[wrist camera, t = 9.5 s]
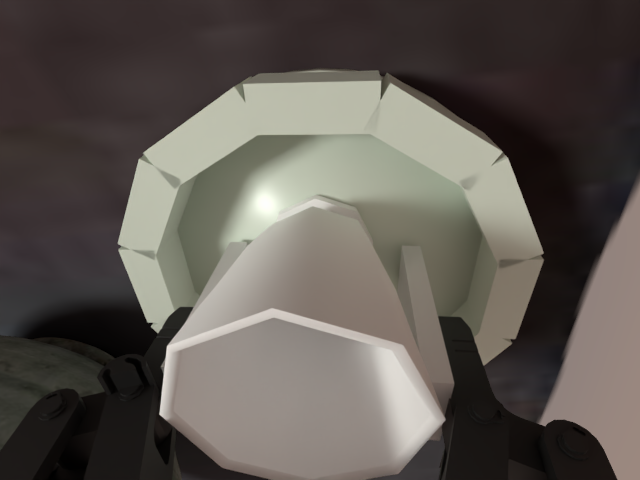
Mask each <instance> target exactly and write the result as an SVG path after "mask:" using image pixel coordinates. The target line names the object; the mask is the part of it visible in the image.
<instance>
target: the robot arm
mask: <svg viewBox="0 0 640 480" xmlns="http://www.w3.org/2000/svg"><path fill="white" fill-rule="evenodd" d="M247 246H248V245H247V242H230V243H229V245H228V247H227V248H226V250H225V252H224V254H223V256H222V257H221V259H220V261H219V263H218V265H217V266H216V268H215V270H214V272H213V274H212V275H211V277H210V279H209V281H208V283H207V284H206V286H205V288H204V290H203V292H202V293H201V295H200V297H199V299H198V301H197V302H196V304H195V306H194V307H179V308H178V309H177V310H176V311H174V312H173V313H172V314H171V315H170V316H169V317H168V318H167V320H166V322H165V323H164V325H163V326H162V329H161V330H160V331H159V333H158V335H157V337H156V338H155V339H154V341H153V343H152V344H151V346H150V347H149V349H148V351H147V352H146V354H145V355H144V357H143V356H141V355H138V354H126V355H123V356H120V357H117V358H115V359H114V360H112V361H110V362H109V363H108V364H107V365H106V366H105V367H104V368H102V369H101V371H100V373H99V375H98V376H97V378H98V380H99V382H100V384H101V385H102V387H103V389H104V391H105V392H101V393H97V394H92V395H88V396H84V397H80V395H79V394H78V393H77V392H76V391H75V390H74V389H69V388H65V389H59V390H56V391H54V392H51V393H49V394H47V395H46V396H44V397H43V398H41V399H40V400H39V401H37V402H36V404H35V405H34V406H33V407H32V408H31V409H30V410H29V412H28V413H27V414H26V416H25V417H24V419H23V420H22V421H21V423H20V424H19V426H18V427H17V428H16V430H15V431H14V432H13V434H12V435H11V437H10V438H9V439H8V441H7V442H6V444H5V445H4V446H3V448H2V449H1V450H0V480H172V476H173V465H174V454H175V443H176V428H175V427H173V426H172V425H171V424H170V423H169V422H167V421H166V420H165V419H164V418H163V417H162V416H160V415H159V413H160V404H161V395H162V386H163V377H164V368H165V359H166V350H167V345H168V344H169V343H170V342H171V340H172V339H173V338H174V337H175V335H176V334H177V333H178V332H179V330H180V329H181V328H182V327H183V325H184V324H185V323H186V321H187V320H188V319H189V318H190V316H191V315H192V314H193V313H194V311H195V310H196V309H197V308H198V307H199V305H200V304H201V303H202V302H203V301H204V300H205V298H206V297H207V296H208V295H209V294H210V292H211V291H212V290H213V289H214V288H215V286H216V285H217V284H218V283H219V281H220V280H221V279H222V278H223V276H224V275H225V274H226V273H227V271H228V270H229V269H230V267H231V266H232V265H233V264H234V262H235V261H236V260H237V258H238V257H239V256H240V255H241V253H242V252H243V251H244V249H245V248H246V247H247ZM397 294H398V297H399V300H400V302H401V305H402V308H403V310H404V313H405V316H406V318H407V321H408V324H409V326H410V329H411V332H412V334H413V337H414V340H415V342H416V345H417V347H418V350H419V352H420V355H421V357H422V359H423V362H424V364H425V367H426V369H427V372H428V374H429V377H430V379H431V382H432V385H433V387H434V390H435V392H436V395H437V398H438V400H439V403H440V406H441V408H442V411H443V413H444V416H445V419H446V420H445V421H444V422H443V424H442V425H441V426H440V427H439V428H438V429H437V430H436V432H435V433H434V434H433V435H432V436H431V437H430V438H429V439H428V440H439V441H440V438H441V434H442V432H443V438H444V443H445V449H444V452H443V456H442V460H441V463H440V467H439V468H441V469H440V475H439V480H617V478H616V476H615V473H614V471H613V469H612V467H611V465H610V463H609V460H608V458H607V456H606V454H605V451H604V449H603V448H602V446H601V445H600V443H599V442H598V440H597V439H596V438H595V437H594V436H593V435H592V434H591V433H590V432H589V431H588V430H586V429H585V428H583V427H581V426H580V425H578V424H576V423H573V422H570V421H566V420H553V421H552V422H550V423H548V424H547V425H546V427H545V426H542V425H539V424H537V423H534V422H531V421H528V420H525V419H522V418H520V417H518V416H516V415H514V414H512V413H511V412H509V411H507V410H506V409H505V408H504V407H503V405H502V404H501V403H500V402H499V401H498V400H497V399H496V398H495V396H494V394H493V392H492V390H491V387H490V384H489V381H488V378H487V375H486V372H485V369H484V366H483V363H482V360H481V357H480V354H479V353H478V348H477V345H476V343H475V340H474V337H473V334H472V331H471V328H470V327H469V326H468V325H467V324H466V322H465V321H464V320H463V319H462V318H461V317H447V316H438V315H437V311H436V307H435V303H434V299H433V295H432V291H431V287H430V283H429V279H428V275H427V271H426V267H425V262H424V258H423V254H422V250H421V246H402V249H401V259H400V269H399V278H398V288H397Z"/></svg>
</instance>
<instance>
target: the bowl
mask: <svg viewBox="0 0 640 480" xmlns="http://www.w3.org/2000/svg"><path fill="white" fill-rule="evenodd" d="M114 359H115V358H114V357H113V356H111V355H109V354H107V353H106V352H104V351H102V350H100V349H98V348H96V347H93V346H90V345H88V344H85V343H82V342H78V341H74V340H70V339H64V338H55V337H48V338H36V339H31V340H30V339H26V338H20V337H11V336H1V335H0V450H1V449H2V448H3V446H4V445H5V444H6V442H7V441H8V439H9V438H10V437H11V435H12V434H13V432H14V431H15V430H16V428H17V427H18V426H19V424H20V423H21V421H22V420H23V419H24V417H25V416H26V414H27V413H28V412H29V410H30V409H31V408H32V407H33V406H34V405H35V404H36V402H37V401H39V400H40V399H41V398H43V397H44V396H46V395H47V394H49V393H51V392H54V391H56V390H59V389H65V388H69V389H74V390H75V391H76V392H77V393H78V394H79V395H80V397H84V396H88V395H92V394H97V393H101V392H105V391H104V389H103V387H102V385H101V384H100V382H99V380H98V378H97V376H98V375H99V373H100V371H101V369H102V368H104V367H105V366H106V365H107V364H108V363H109V362H110V361H112V360H114ZM172 480H182V477H181V472H180V468H179V464H178V460H177V457H176V453H175V454H174V465H173V476H172Z"/></svg>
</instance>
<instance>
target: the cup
mask: <svg viewBox="0 0 640 480" xmlns="http://www.w3.org/2000/svg"><path fill="white" fill-rule="evenodd" d="M159 415H160V416H162V417H163V418H164V419H165V420H166V421H167V422H169V423H170V424H171V425H172V426H173V427H175V428H176V429H177V430H178V431H179V432H180V433H182V434H183V435H184V436H185V437H186V438H187V439H189V440H190V441H191V442H192V443H193V444H195V445H196V446H197V447H198V448H199V449H200V450H202V451H203V452H204V453H205V454H206V455H208V456H209V457H210V458H211V459H212V460H213V461H215V462H216V463H217V464H218V465H219V466H221V467H222V468H224V469H229V470H233V471H237V472H241V473H245V474H250V475H254V476H258V477H262V478H267V479H271V480H365V479H370V478H376V477H382V476H388V475H394V474H398V473H399V472H400V471H401V470H402V469H403V468H404V467H405V466H406V464H407V463H408V462H409V461H410V460H411V459H412V458H413V457H414V455H415V454H416V453H417V452H418V451H419V450H420V449H421V447H422V446H423V445H424V444H425V443H426V442H427V441H428V439H429V438H430V437H431V436H432V435H433V434H434V433H435V432H436V430H437V429H438V428H439V427H440V426H441V425H442V424H443V422H444V421H445V420H446V419H445V416H444V413H443V411H442V408H441V406H440V403H439V400H438V398H437V395H436V392H435V390H434V387H433V385H432V382H431V379H430V377H429V374H428V372H427V369H426V367H425V364H424V362H423V359H422V357H421V355H420V352H419V350H418V347H417V345H416V342H415V340H414V337H413V334H412V332H411V329H410V326H409V324H408V321H407V318H406V316H405V313H404V310H403V308H402V305H401V302H400V300H399V297H398V294H397V292H396V289H395V287H394V285H393V283H392V282H391V280H390V278H389V276H388V274H387V272H386V270H385V268H384V266H383V265H382V263H381V261H380V259H379V257H378V255H377V253H376V251H375V249H374V248H373V239H372V237H371V235H370V233H369V231H368V229H367V227H366V225H365V224H364V222H363V220H362V218H361V216H360V214H359V212H358V210H357V208H356V207H354V206H350V205H347V204H344V203H341V202H338V201H335V200H331V199H328V198H325V197H322V196H319V195H314V196H312V197H310V198H307V199H305V200H303V201H301V202H299V203H296V204H294V205H292V206H290V207H288V208H285V209H283V210H281V211H280V212H279V215H278V218H277V222H276V223H273V224H272V225H271V226H269V227H268V228H267V229H266V230H265V231H264V232H263V233H261V234H260V235H259V236H258V237H257V238H256V239H255V240H253V241H252V242H251V243H250V244H249V245H248V246H247V247H246V248H245V249H244V251H243V252H242V253H241V255H240V256H239V257H238V258H237V260H236V261H235V262H234V264H233V265H232V266H231V267H230V269H229V270H228V271H227V273H226V274H225V275H224V276H223V278H222V279H221V280H220V281H219V283H218V284H217V285H216V286H215V288H214V289H213V290H212V291H211V292H210V294H209V295H208V296H207V297H206V298H205V300H204V301H203V302H202V303H201V304H200V305H199V307H198V308H197V309H196V310H195V311H194V313H193V314H192V315H191V316H190V318H189V319H188V320H187V321H186V323H185V324H184V325H183V327H182V328H181V329H180V330H179V332H178V333H177V334H176V335H175V337H174V338H173V339H172V340H171V342H170V343H169V344H168V345H167V350H166V359H165V368H164V377H163V386H162V395H161V404H160V413H159Z"/></svg>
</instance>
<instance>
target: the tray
mask: <svg viewBox="0 0 640 480" xmlns="http://www.w3.org/2000/svg"><path fill="white" fill-rule="evenodd" d="M143 154H144V156H142V157H141V158H139V161H138V165H137V169H136V173H135V177H134V181H133V185H132V189H131V193H130V197H129V201H128V205H127V209H126V213H125V217H124V221H123V225H122V229H121V232H120V236H119V240H118V244H119V245H121V247H120V248H119V249H118V250H119V253H120V255H121V258H122V260H123V263H124V265H125V268H126V270H127V273H128V275H129V278H130V280H131V283H132V285H133V288H134V290H135V293H136V295H137V298H138V300H139V303H140V305H141V308H142V310H143V313H144V315H145V318H146V320H147V322H148V323H153V324H152V325H151V328H152V329H154V330H155V331H156V332H157V333H159V331H160V330H161V329H162V326H163V325H164V323H165V322H166V320H167V318H168V317H169V316H170V315H171V314H172V313H173V312H174V311H176V310H177V309H178V308H179V307H194V306H195V304H196V302H197V301H198V299H199V297H200V295H201V293H202V292H203V290H204V288H205V286H206V284H207V283H208V281H209V279H210V277H211V275H212V274H213V272H214V270H215V268H216V266H217V265H218V263H219V261H220V259H221V257H222V256H223V254H224V252H225V250H226V248H227V247H228V245H229V243H230V242H247V245H249V244H250V243H251V242H252V241H253V240H255V239H256V238H257V237H258V236H259V235H260V234H261V233H263V232H264V231H265V230H266V229H267V228H268V227H269V226H271V225H272V224H273V223H276V222H277V218H278V215H279V212H280V211H281V210H283V209H285V208H288V207H290V206H292V205H294V204H296V203H299V202H301V201H303V200H305V199H307V198H310V197H312V196H314V195H319V196H322V197H325V198H328V199H331V200H335V201H338V202H341V203H344V204H347V205H350V206H354V207H356V208H357V210H358V212H359V214H360V216H361V218H362V220H363V222H364V224H365V225H366V227H367V229H368V231H369V233H370V235H371V237H372V239H373V248H374V249H375V251H376V253H377V255H378V257H379V259H380V261H381V263H382V265H383V266H384V268H385V270H386V272H387V274H388V276H389V278H390V280H391V282H392V283H393V285H394V287H395V289H396V292H397V288H398V278H399V269H400V259H401V249H402V246H421V250H422V254H423V258H424V262H425V267H426V271H427V275H428V279H429V283H430V287H431V291H432V295H433V299H434V303H435V307H436V311H437V315H438V316H447V317H461V318H462V319H463V320H464V321H465V322H466V324H467V325H468V326H469V327H470V328H471V331H472V334H473V337H474V340H475V343H476V345H477V348H478V353H479V354H480V357H481V360H482V363H483V366H484V365H485V364H487V363H488V362H489V361H490V360H492V359H493V358H494V357H496V356H497V355H498V354H499V353H501V352H502V351H503V350H505V349H506V348H507V347H508V346H510V345H511V344H512V342H511V340H510V339H516V336H517V334H518V331H519V328H520V325H521V322H522V320H523V317H524V314H525V311H526V309H527V306H528V303H529V300H530V297H531V295H532V292H533V289H534V286H535V284H536V281H537V278H538V275H539V272H540V270H541V267H542V264H543V261H544V259H543V258H542V257H541V255H542V254H544V252H543V249H542V247H541V244H540V241H539V239H538V236H537V233H536V231H535V228H534V225H533V223H532V220H531V217H530V215H529V212H528V210H527V207H526V204H525V202H524V199H523V196H522V194H521V191H520V188H519V186H518V183H517V180H516V178H515V175H514V172H513V170H512V167H511V164H510V162H509V159H508V157H507V156H506V155H505V154H504V153H503V151H502V150H501V149H500V148H499V147H498V146H497V145H496V144H495V143H494V142H493V141H492V140H491V139H490V138H489V137H488V136H487V135H486V134H485V133H484V132H482V131H480V130H479V129H477V128H476V127H474V126H472V125H471V124H469V123H467V122H466V121H464V120H463V119H461V118H459V117H458V116H456V115H455V114H454V113H452V112H451V111H450V110H448V109H447V108H446V107H444V106H443V105H441V104H440V103H439V102H437V101H436V100H435V99H433V98H432V97H430V96H428V95H426V94H424V93H422V92H420V91H418V90H416V89H415V88H413V87H411V86H409V85H407V84H404V83H403V82H401V81H400V80H398V79H396V78H395V77H393V76H391V75H390V74H388V73H386V75H385V76H381V75H380V74H379V71H357V70H351V69H334V68H314V69H304V70H294V71H289V72H285V73H261V74H257V75H256V76H254V77H253V78H252V76H251V77H249V78H247V79H246V80H244V81H243V82H241V83H239V84H238V85H236V86H234V87H233V88H232V89H230V90H229V91H228V92H226V93H225V94H223V95H222V96H221V97H219V98H218V99H217V100H215V101H214V102H212V103H211V104H210V105H208V106H207V107H206V108H204V109H203V110H201V111H200V112H199V113H197V114H196V115H195V116H193V117H192V118H190V119H189V120H188V121H186V122H185V123H184V124H182V125H181V126H179V127H178V128H177V129H175V130H174V131H173V132H171V133H170V134H168V135H167V136H166V137H164V138H163V139H162V140H160V141H159V142H157V143H156V144H155V145H153V146H152V147H151V148H149V149H148V150H147V151H145V152H144V153H143Z"/></svg>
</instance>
